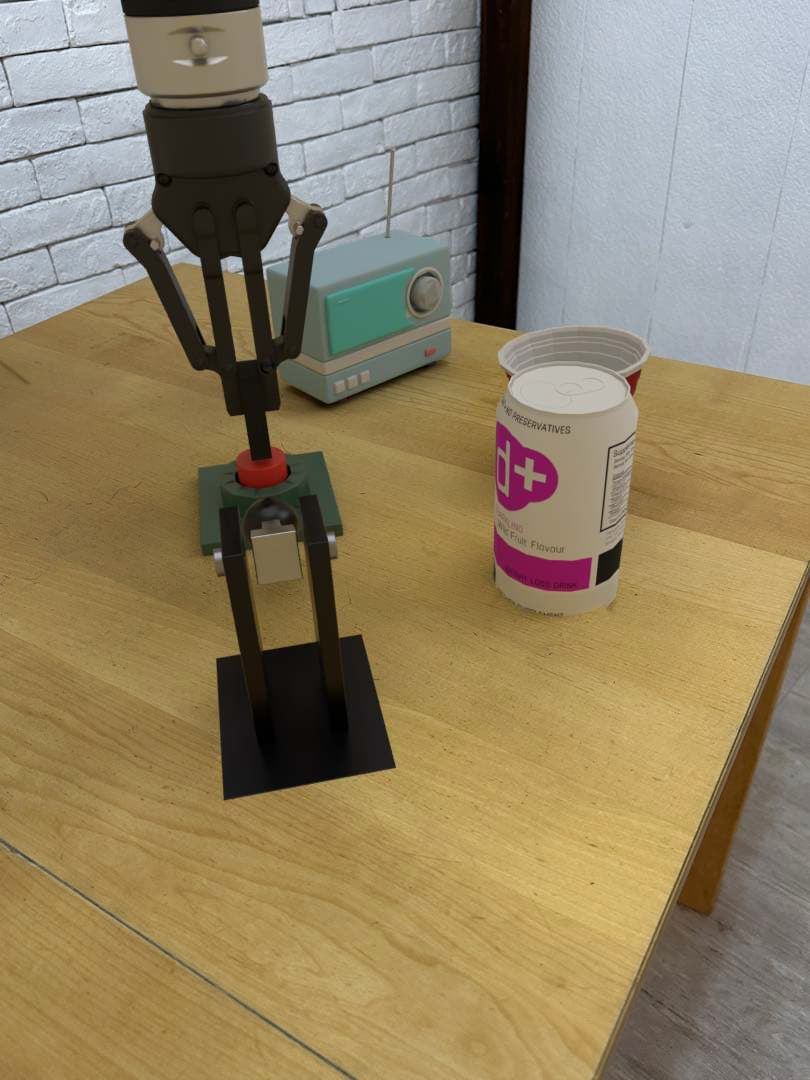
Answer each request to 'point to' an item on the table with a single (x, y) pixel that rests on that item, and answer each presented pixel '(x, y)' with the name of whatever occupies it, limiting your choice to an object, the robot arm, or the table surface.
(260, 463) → the button
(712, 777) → the table surface
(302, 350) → the radio
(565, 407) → the supplement can
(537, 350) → the plastic cup
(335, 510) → the button box
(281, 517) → the lever
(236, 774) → the bracket
